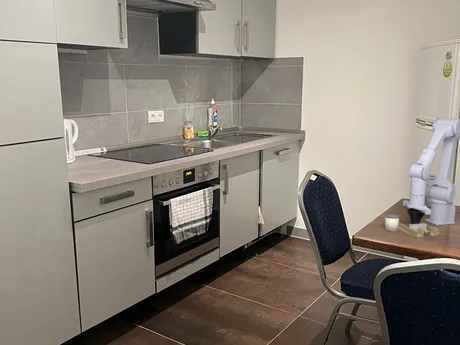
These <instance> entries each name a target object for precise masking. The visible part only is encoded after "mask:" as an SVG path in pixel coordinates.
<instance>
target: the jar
mask: <svg viewBox="0 0 460 345" xmlns="http://www.w3.org/2000/svg"><path fill="white" fill-rule="evenodd" d="M384 216H385V217H384V230H385V231H386V232H396V233H397V232H399V223H400V214H398V213H394V212H393V213H392V212H390V213H385V214H384Z"/></svg>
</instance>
